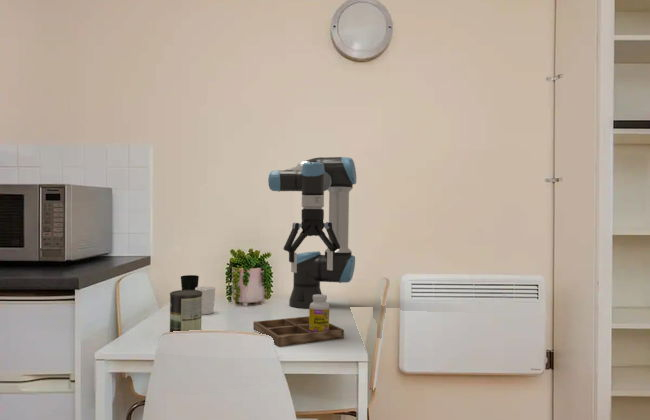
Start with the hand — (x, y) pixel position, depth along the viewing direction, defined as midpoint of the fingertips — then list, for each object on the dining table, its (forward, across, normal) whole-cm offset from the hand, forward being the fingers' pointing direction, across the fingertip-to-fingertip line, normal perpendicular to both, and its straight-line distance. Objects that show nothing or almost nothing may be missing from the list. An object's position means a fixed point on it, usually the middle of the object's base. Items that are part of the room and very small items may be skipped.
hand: (312, 271), depth 166 cm
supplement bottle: (+21, 0, -4) cm, 21 cm away
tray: (+21, -5, +1) cm, 22 cm away
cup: (+22, -25, +69) cm, 76 cm away
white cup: (+22, -24, +48) cm, 57 cm away
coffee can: (+21, -39, +16) cm, 47 cm away
